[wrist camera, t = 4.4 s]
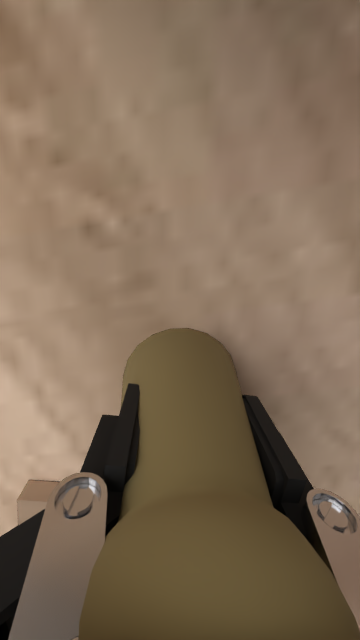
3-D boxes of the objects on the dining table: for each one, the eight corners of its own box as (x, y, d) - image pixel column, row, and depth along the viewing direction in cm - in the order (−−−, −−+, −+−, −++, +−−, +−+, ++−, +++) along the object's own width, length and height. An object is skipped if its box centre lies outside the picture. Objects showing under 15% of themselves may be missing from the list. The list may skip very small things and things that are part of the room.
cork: (203, 442, 14) (302, 960, 4) (106, 405, 13) (-112, 974, 3) (256, 356, 13) (624, 800, 3) (152, 308, 12) (52, 722, 2)
